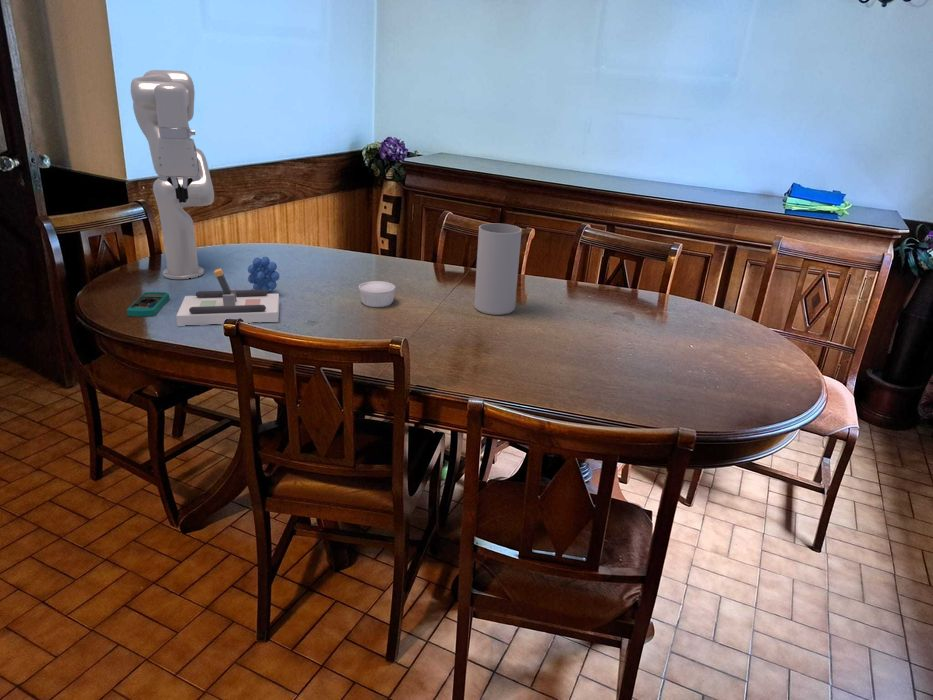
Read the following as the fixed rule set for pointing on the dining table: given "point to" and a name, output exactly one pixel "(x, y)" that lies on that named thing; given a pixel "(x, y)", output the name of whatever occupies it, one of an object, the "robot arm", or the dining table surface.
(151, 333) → the dining table surface
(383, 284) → the ramekin
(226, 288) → the breaker lever
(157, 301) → the digital multimeter
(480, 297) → the cylinder vase
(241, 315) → the switch base plate
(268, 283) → the grapes
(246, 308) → the pair of dark bars
